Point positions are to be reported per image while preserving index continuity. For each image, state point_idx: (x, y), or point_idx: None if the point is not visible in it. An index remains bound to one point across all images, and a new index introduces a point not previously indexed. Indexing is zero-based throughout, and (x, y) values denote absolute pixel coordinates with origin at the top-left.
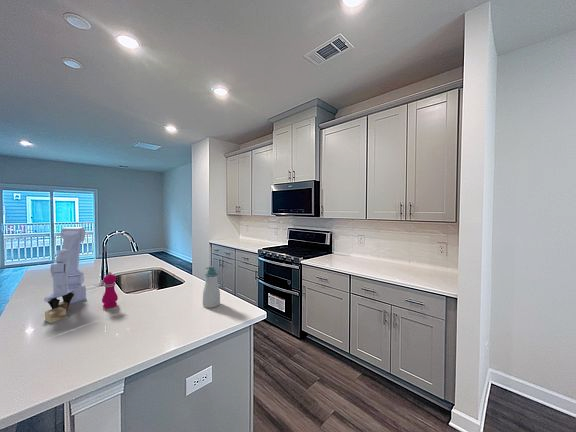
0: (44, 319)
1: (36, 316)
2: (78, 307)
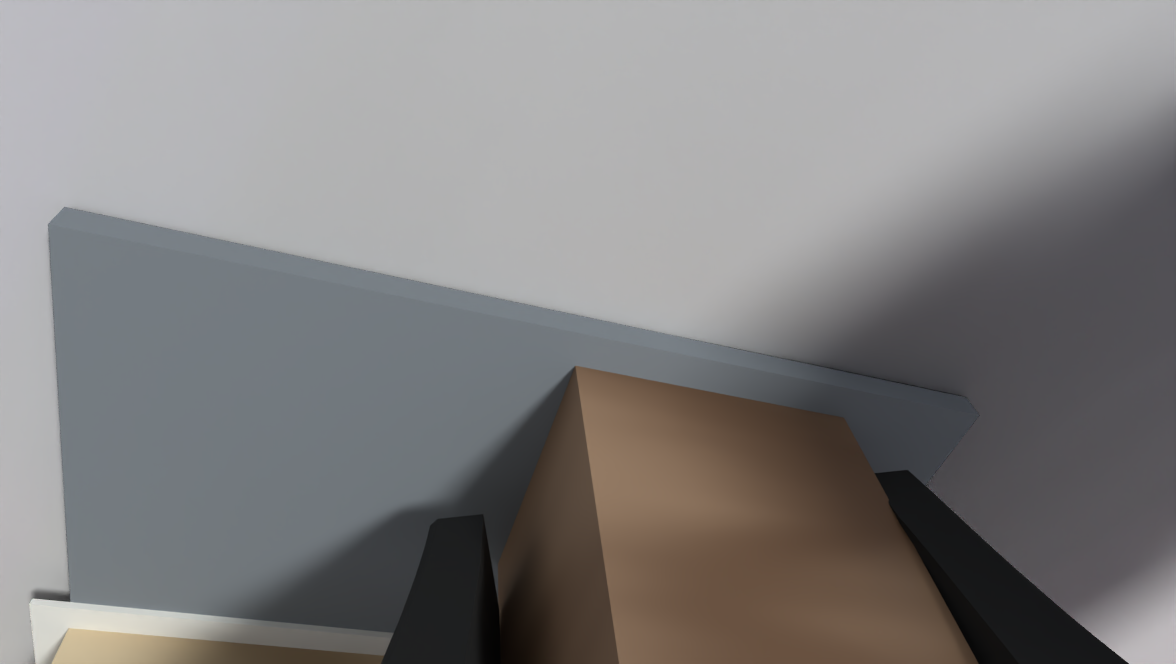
0: (46, 635)
1: (40, 13)
2: (1017, 561)
